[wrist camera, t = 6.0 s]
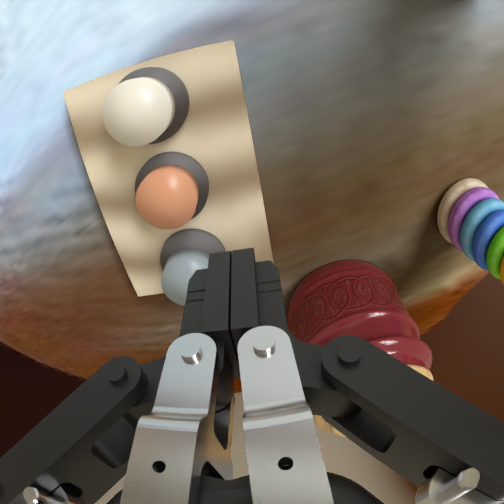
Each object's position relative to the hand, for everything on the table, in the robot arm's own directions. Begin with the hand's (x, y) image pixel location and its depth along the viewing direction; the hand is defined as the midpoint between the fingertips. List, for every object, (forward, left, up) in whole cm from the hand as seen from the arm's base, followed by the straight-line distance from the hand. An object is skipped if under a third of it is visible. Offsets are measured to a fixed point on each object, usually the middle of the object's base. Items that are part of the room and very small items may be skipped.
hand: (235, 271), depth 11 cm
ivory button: (-5, -6, -13) cm, 15 cm away
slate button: (+9, -6, -13) cm, 17 cm away
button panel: (+2, -6, -18) cm, 19 cm away
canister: (+20, +8, -18) cm, 28 cm away
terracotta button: (+2, -6, -14) cm, 16 cm away
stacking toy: (+10, +23, -18) cm, 31 cm away
